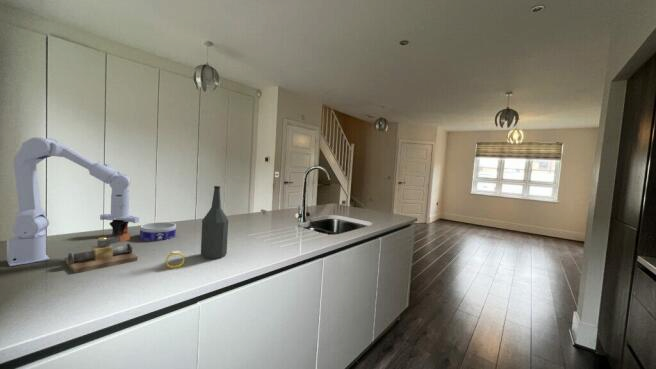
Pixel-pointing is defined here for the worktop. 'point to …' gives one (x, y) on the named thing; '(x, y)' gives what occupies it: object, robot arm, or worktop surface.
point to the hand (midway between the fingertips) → (119, 238)
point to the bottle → (214, 230)
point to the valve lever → (113, 239)
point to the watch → (174, 254)
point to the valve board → (101, 262)
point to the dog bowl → (157, 231)
